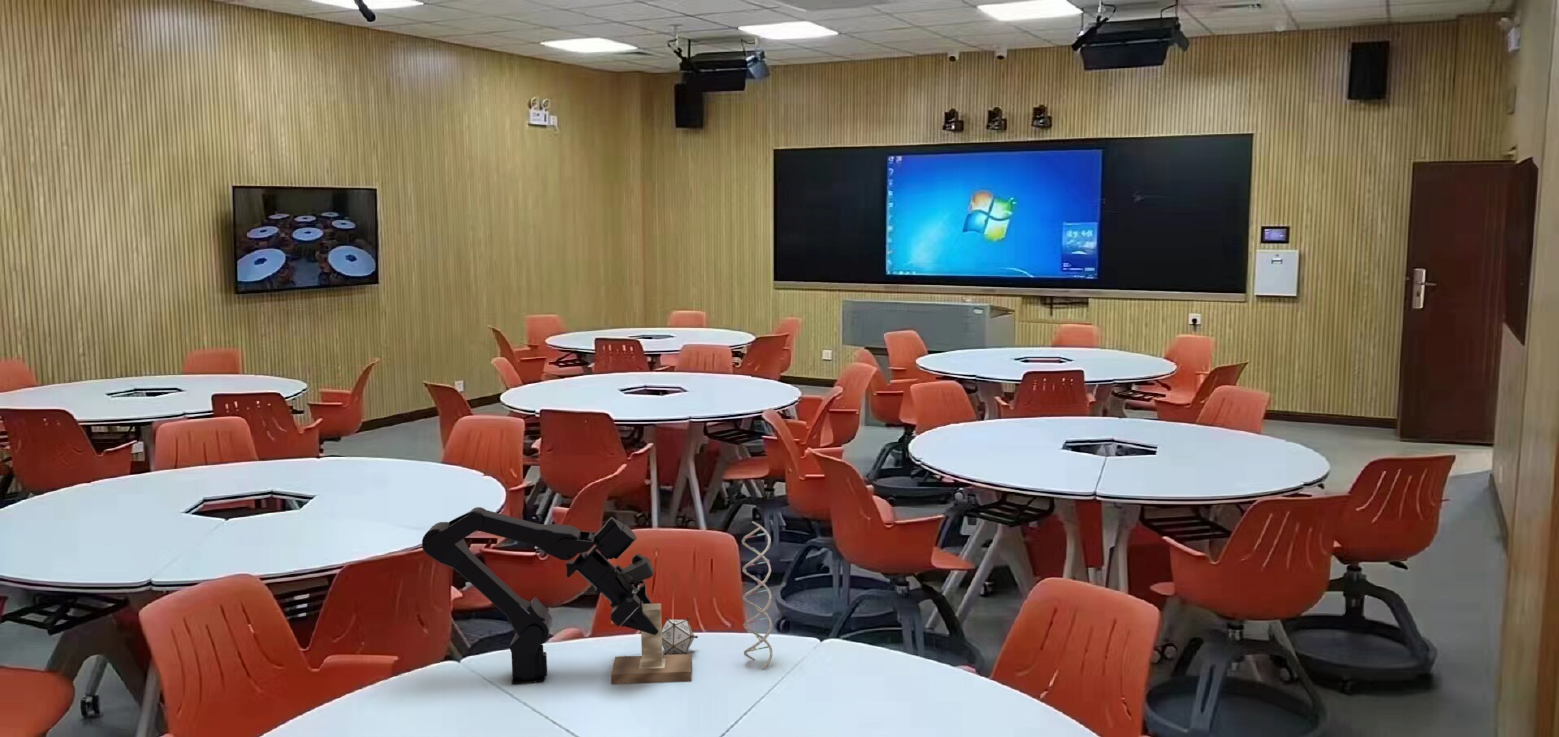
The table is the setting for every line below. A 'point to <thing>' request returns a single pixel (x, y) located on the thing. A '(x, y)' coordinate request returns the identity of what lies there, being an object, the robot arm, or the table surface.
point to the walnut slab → (651, 670)
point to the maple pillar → (652, 638)
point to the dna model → (761, 583)
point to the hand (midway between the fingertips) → (658, 625)
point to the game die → (677, 636)
